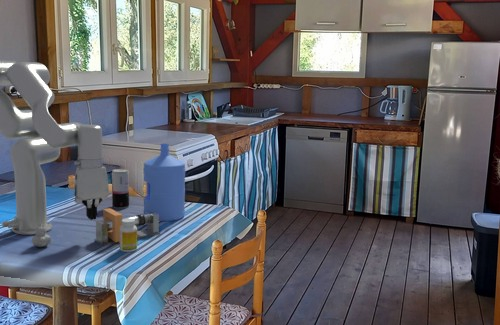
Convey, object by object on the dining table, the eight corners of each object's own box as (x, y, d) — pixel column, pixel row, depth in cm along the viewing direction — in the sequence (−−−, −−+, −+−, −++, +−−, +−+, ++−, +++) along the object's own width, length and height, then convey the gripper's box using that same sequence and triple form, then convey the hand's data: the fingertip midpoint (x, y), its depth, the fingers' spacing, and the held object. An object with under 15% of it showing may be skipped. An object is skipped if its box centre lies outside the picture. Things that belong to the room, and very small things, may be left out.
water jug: (190, 213, 207) (191, 143, 202) (174, 224, 193) (175, 148, 187) (154, 208, 211) (154, 140, 206) (136, 219, 197) (135, 145, 192)
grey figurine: (49, 242, 169) (48, 218, 167) (52, 249, 163) (51, 224, 162) (31, 244, 166) (30, 220, 165) (33, 251, 160) (32, 226, 159)
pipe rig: (102, 245, 168) (101, 224, 166) (94, 240, 172) (94, 219, 171) (160, 234, 181) (160, 214, 180) (151, 229, 185) (151, 210, 184)
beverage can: (109, 207, 211) (108, 171, 208) (117, 203, 217) (116, 168, 214) (124, 209, 209) (124, 172, 206) (131, 205, 215) (131, 169, 213)
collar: (115, 242, 169) (115, 215, 167) (103, 234, 176) (103, 209, 174) (122, 240, 170) (122, 214, 169) (110, 233, 177) (110, 208, 176)
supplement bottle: (116, 249, 165) (116, 219, 163) (130, 245, 169) (130, 216, 167) (126, 253, 161) (125, 223, 160) (140, 249, 165) (140, 220, 164)
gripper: (71, 167, 161) (73, 225, 164) (117, 163, 170) (118, 217, 173) (63, 163, 167) (65, 219, 170) (107, 159, 176) (108, 212, 179)
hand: (91, 218), depth 172 cm, fingers closed
